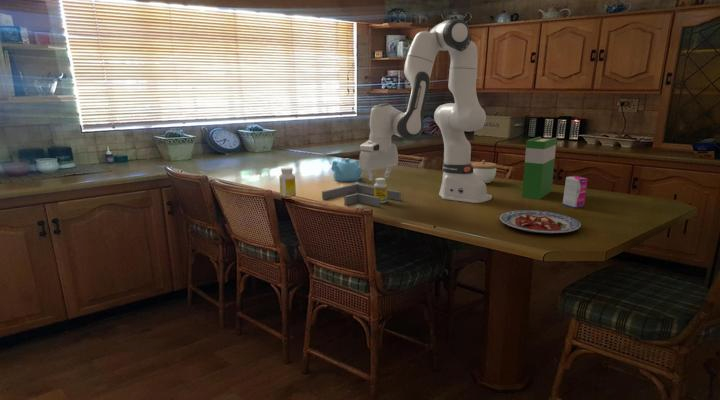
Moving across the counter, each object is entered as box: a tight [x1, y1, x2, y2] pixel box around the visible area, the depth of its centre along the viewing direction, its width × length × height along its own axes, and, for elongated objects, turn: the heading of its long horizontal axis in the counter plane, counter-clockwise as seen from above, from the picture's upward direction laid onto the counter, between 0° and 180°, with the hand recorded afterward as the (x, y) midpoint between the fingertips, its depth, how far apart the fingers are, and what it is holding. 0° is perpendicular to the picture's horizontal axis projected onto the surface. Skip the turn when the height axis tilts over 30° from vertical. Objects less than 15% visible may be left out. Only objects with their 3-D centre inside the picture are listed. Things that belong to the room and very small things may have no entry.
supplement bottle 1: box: [278, 167, 297, 197], centre depth 200 cm, size 7×7×13 cm
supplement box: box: [562, 175, 589, 209], centre depth 185 cm, size 6×6×12 cm
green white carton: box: [521, 136, 557, 200], centre depth 203 cm, size 18×7×24 cm, turn 144°
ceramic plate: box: [499, 209, 582, 234], centre depth 161 cm, size 26×26×3 cm
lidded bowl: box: [470, 159, 498, 184], centre depth 229 cm, size 13×13×11 cm
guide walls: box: [321, 183, 402, 208], centre depth 197 cm, size 25×21×4 cm
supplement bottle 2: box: [373, 177, 388, 204], centre depth 194 cm, size 5×5×10 cm
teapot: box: [330, 157, 364, 183], centre depth 238 cm, size 15×15×11 cm
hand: (379, 178), depth 192 cm, fingers open, 8 cm apart
